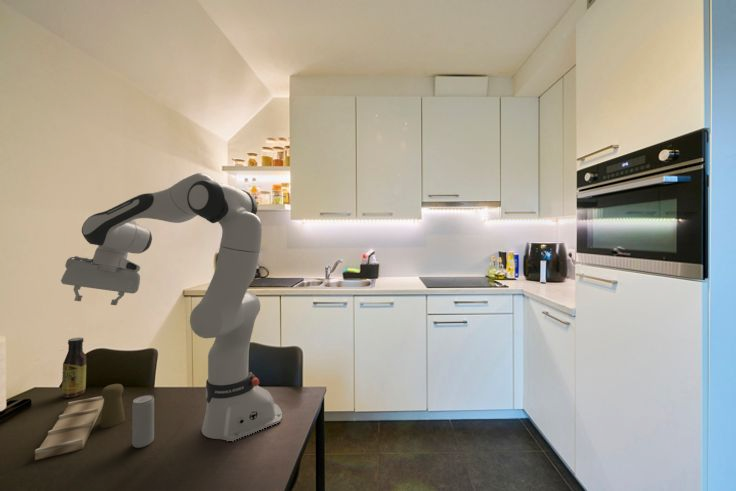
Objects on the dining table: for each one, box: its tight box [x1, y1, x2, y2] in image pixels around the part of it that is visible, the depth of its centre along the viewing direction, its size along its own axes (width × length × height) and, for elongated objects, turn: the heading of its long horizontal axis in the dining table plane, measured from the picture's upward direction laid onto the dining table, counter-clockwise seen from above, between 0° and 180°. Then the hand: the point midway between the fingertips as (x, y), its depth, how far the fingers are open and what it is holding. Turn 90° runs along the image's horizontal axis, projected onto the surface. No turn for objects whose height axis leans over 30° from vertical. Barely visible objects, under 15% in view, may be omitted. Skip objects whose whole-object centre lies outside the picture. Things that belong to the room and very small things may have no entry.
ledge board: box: [34, 395, 104, 461], centre depth 94 cm, size 9×28×2 cm, turn 30°
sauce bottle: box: [61, 337, 87, 399], centre depth 114 cm, size 6×6×20 cm
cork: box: [99, 383, 126, 429], centre depth 97 cm, size 6×6×11 cm
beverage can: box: [131, 394, 155, 449], centre depth 87 cm, size 5×5×12 cm
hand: (96, 303), depth 105 cm, fingers open, 8 cm apart
